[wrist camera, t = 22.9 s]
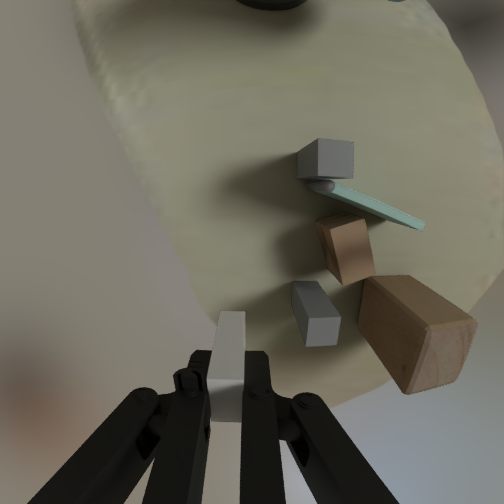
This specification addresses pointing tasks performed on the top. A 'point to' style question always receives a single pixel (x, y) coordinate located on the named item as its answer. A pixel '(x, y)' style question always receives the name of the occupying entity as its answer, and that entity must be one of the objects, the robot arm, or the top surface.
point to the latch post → (315, 314)
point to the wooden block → (414, 332)
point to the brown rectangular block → (346, 247)
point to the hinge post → (326, 160)
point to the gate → (364, 203)
